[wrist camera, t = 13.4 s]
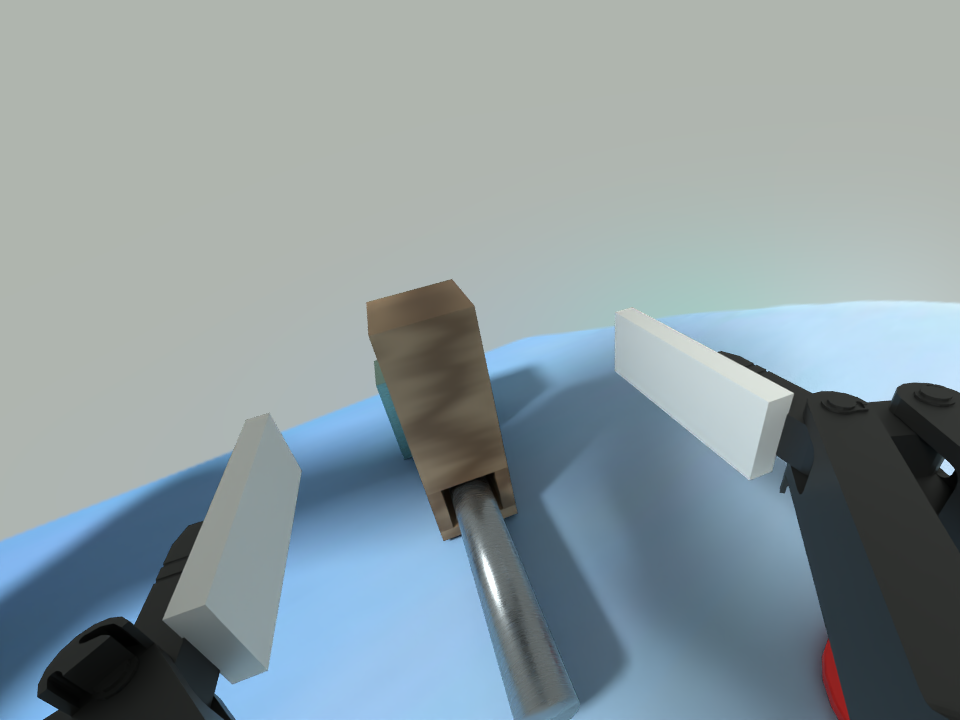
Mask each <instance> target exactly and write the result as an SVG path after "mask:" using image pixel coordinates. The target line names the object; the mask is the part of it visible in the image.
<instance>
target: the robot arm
mask: <svg viewBox="0 0 960 720" xmlns="http://www.w3.org/2000/svg"><path fill="white" fill-rule="evenodd" d="M615 372H617V373H618V374H619V375H620V376H621V377H623V378H624V379H625V380H626V381H628V382H629V383H630V384H631V385H633V386H634V387H635V388H636V389H637V390H639V391H640V392H641V393H642V394H644V395H645V396H646V397H647V398H649V399H650V400H651V401H652V402H653V403H655V404H656V405H657V406H658V407H660V408H661V409H662V410H663V411H664V412H666V413H667V414H668V415H669V416H671V417H672V418H673V419H674V420H676V421H677V422H678V423H679V424H680V425H682V426H683V427H684V428H685V429H687V430H688V431H689V432H690V433H692V434H693V435H694V436H695V437H696V438H698V439H699V440H700V441H701V442H703V443H704V444H705V445H706V446H708V447H709V448H710V449H711V450H712V451H714V452H715V453H716V454H717V455H719V456H720V457H721V458H722V459H724V460H725V461H726V462H727V463H728V464H730V465H731V466H732V467H733V468H735V469H736V470H737V471H738V472H740V473H741V474H742V475H743V476H744V477H746V478H747V479H748V480H749V481H750V480H752V479H755V478H757V477H760V476H762V475H765V474H767V473H770V472H772V469H773V466H774V462H775V459H776V455H777V456H778V457H780V458H781V459H783V460H784V461H785V462H787V467H786V470H785V473H784V476H783V480H782V483H781V486H780V493H785V491H786V488H787V486H789V488H790V492H791V496H792V500H793V504H794V507H795V511H796V515H797V519H798V523H799V527H800V530H801V534H802V538H803V542H804V546H805V550H806V554H807V557H808V561H809V565H810V569H811V573H812V577H813V580H814V584H815V588H816V592H817V596H818V600H819V603H820V607H821V611H822V615H823V619H824V623H825V626H826V630H827V634H828V638H829V642H830V646H831V649H832V653H833V657H834V661H835V665H836V669H837V672H838V676H839V680H840V684H841V688H842V692H843V695H844V699H845V703H846V707H847V711H848V715H849V718H850V720H960V393H959V392H957V391H955V390H952V389H949V388H946V387H944V386H941V385H936V384H935V385H934V384H930V383H907V384H902V385H901V386H899V387H897V389H896V391H895V394H894V396H893V398H892V400H891V401H879V402H865V401H863V400H862V399H860V398H858V397H855V396H852V395H849V394H846V393H840V392H834V391H821V392H817V393H811V392H809V391H807V390H805V389H803V388H801V387H799V386H797V385H795V384H793V383H791V382H789V381H787V380H785V379H783V378H781V377H779V376H777V375H775V374H773V373H772V372H770V371H768V372H767V371H766V369H764V368H762V367H760V366H758V365H754V363H752V362H750V361H748V360H746V359H744V358H742V357H740V356H737V355H734V354H730V353H726V352H723V351H720V352H716V351H714V350H712V349H710V348H708V347H706V346H704V345H702V344H701V343H699V342H697V341H695V340H693V339H691V338H689V337H687V336H686V335H684V334H682V333H680V332H678V331H676V330H674V329H672V328H670V327H669V326H667V325H665V324H663V323H661V322H659V321H657V320H655V319H654V318H652V317H650V316H648V315H646V314H644V313H642V312H640V311H639V310H636V309H635V308H633V307H631V308H628V309H625V310H621V311H618V312H615ZM944 459H946V460H947V461H948V462H949V463H950V464H951V465H952V466H953V467H954V469H955V471H954V472H953V474H952V475H951V476H949V475H948V474H946V473H945V472H944V471H943V470H942V469H941V468H940V466H941V464H942V462H943V461H944ZM301 472H302V471H301V469H300V467H299V465H298V463H297V462H296V460H295V458H294V456H293V454H292V453H291V451H290V449H289V447H288V445H287V443H286V442H285V440H284V438H283V436H282V434H281V433H280V431H279V429H278V427H277V425H276V424H275V422H274V420H273V418H272V416H271V415H270V413H268V414H264V415H261V416H257V417H254V418H251V419H247V420H246V421H245V423H244V426H243V428H242V431H241V433H240V435H239V438H238V440H237V443H236V445H235V447H234V450H233V452H232V454H231V457H230V459H229V462H228V464H227V466H226V469H225V471H224V474H223V476H222V478H221V481H220V483H219V486H218V488H217V490H216V493H215V495H214V498H213V500H212V502H211V505H210V507H209V510H208V512H207V514H206V517H205V519H204V521H201V522H198V523H195V524H192V525H189V526H188V527H187V528H186V529H185V530H184V531H183V533H182V534H181V535H180V536H179V537H178V539H177V540H176V541H175V542H174V543H173V545H172V546H171V549H170V551H169V553H168V555H167V557H166V559H165V561H164V563H163V565H164V567H162V568H161V570H160V572H159V574H158V576H157V578H156V583H155V584H153V587H152V589H151V591H150V593H149V595H148V597H147V599H146V601H145V603H144V606H143V608H142V610H141V612H140V614H139V616H138V618H137V620H136V622H135V625H133V624H132V623H131V622H130V621H128V620H127V619H125V618H123V617H114V618H108V619H106V620H104V621H101V622H99V623H97V624H94V625H93V626H91V627H90V628H88V629H87V630H85V631H84V632H82V633H81V634H79V635H78V636H76V637H75V638H74V639H73V640H72V641H71V642H70V643H69V644H68V645H66V646H65V647H64V648H63V649H62V650H61V651H60V652H59V653H58V654H57V656H56V657H55V658H54V659H53V661H52V662H51V663H50V664H49V666H48V667H47V668H46V670H45V672H44V674H43V676H42V678H41V680H40V682H39V684H38V692H37V697H38V698H40V699H42V700H43V701H45V702H47V703H48V704H50V705H52V706H54V707H55V708H57V709H59V710H58V711H56V712H54V713H53V714H51V715H50V716H48V717H47V718H45V719H43V720H235V718H234V717H233V715H232V714H231V713H230V711H229V710H228V708H227V707H226V706H225V704H224V703H223V702H222V700H221V699H220V698H219V697H218V696H217V695H215V694H214V692H215V689H216V685H217V681H218V677H219V673H221V674H222V675H223V676H224V677H225V678H226V679H227V680H228V681H229V682H230V683H231V684H235V683H237V682H240V681H242V680H245V679H247V678H250V677H252V676H255V675H258V674H260V673H263V672H265V671H268V666H269V660H270V654H271V648H272V643H273V637H274V631H275V625H276V619H277V613H278V607H279V601H280V596H281V590H282V584H283V578H284V572H285V566H286V560H287V554H288V549H289V543H290V537H291V531H292V525H293V519H294V513H295V507H296V502H297V496H298V490H299V484H300V478H301Z"/></svg>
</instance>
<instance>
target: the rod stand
mask: <svg viewBox="0 0 960 720" xmlns="http://www.w3.org/2000/svg"><path fill="white" fill-rule="evenodd" d="M374 366H375V378H376V386H377V389H378V392H379V394H380V397H381V400H382V402H383V405H384V407H385V410H386V413H387V415H388V418H389V421H390V423H391V426H392V428H393V431H394V434H395V436H396V439H397V441H398V444H399V447H400V449H401V452H402V455H403V457H404V460H405V459H408V458H411V457H413V456H412V453H411V451H410V448H409V445H408V442H407V440H406V437H405V434H404V431H403V429H402V426H401V423H400V421H399V418H398V415H397V412H396V410H395V407H394V404H393V401H392V399H391V396H390V393H389V390H388V388H387V385H386V382H385V380H384V377H383V374H382V371H381V369H380V366H379V363H378V360H376V361H374ZM449 492H450V495H451V499H452V502H453V506H454V509H455V513H456V517H457V520H458V524H459V527H460V531H461V534H462V538H463V541H464V545H465V548H466V552H467V556H468V559H469V563H470V566H471V570H472V573H473V577H474V580H475V584H476V587H477V591H478V595H479V598H480V602H481V605H482V609H483V612H484V616H485V619H486V623H487V626H488V630H489V633H490V637H491V641H492V644H493V648H494V651H495V655H496V658H497V662H498V665H499V669H500V672H501V676H502V680H503V683H504V687H505V690H506V694H507V697H508V701H509V704H510V708H511V711H512V715H513V718H514V720H570V719H571V718H572V717H573V716H574V715H575V714H576V713H577V711H578V709H579V707H580V702H579V700H578V697H577V695H576V693H575V690H574V688H573V685H572V683H571V680H570V678H569V676H568V673H567V671H566V668H565V666H564V664H563V661H562V659H561V656H560V654H559V651H558V649H557V647H556V644H555V642H554V639H553V637H552V635H551V632H550V630H549V627H548V625H547V622H546V620H545V618H544V615H543V613H542V610H541V608H540V606H539V603H538V601H537V598H536V596H535V593H534V591H533V589H532V586H531V584H530V581H529V579H528V577H527V574H526V572H525V569H524V567H523V565H522V562H521V560H520V557H519V555H518V552H517V550H516V548H515V545H514V543H513V540H512V538H511V536H510V533H509V531H508V528H507V526H506V523H505V521H504V519H503V516H502V514H501V511H500V509H499V507H498V504H497V502H496V499H495V497H494V494H493V492H492V490H491V487H490V485H489V482H488V480H487V478H486V475H484V476H481V477H478V478H475V479H473V480H470V481H467V482H464V483H461V484H459V485H456V486H453V487H450V488H449Z"/></svg>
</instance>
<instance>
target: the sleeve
mask: <svg viewBox="0 0 960 720" xmlns="http://www.w3.org/2000/svg"><path fill="white" fill-rule="evenodd" d="M367 319H368V335H369V338H370V341H371V344H372V346H373V349H374V352H375V355H376V358H377V360H378V363H379V366H380V369H381V371H382V374H383V377H384V380H385V382H386V385H387V388H388V390H389V393H390V396H391V399H392V401H393V404H394V407H395V410H396V412H397V415H398V418H399V421H400V423H401V426H402V429H403V431H404V434H405V437H406V440H407V442H408V445H409V448H410V451H411V453H412V456H413V459H414V462H415V464H416V467H417V470H418V472H419V475H420V478H421V481H422V483H423V486H424V489H425V492H426V494H427V497H428V500H429V503H430V505H431V508H432V511H433V513H434V516H435V519H436V522H437V524H438V527H439V530H440V533H441V535H442V538H443V541H445V540H448V539H451V538H453V537H456V536H459V535H461V531H460V527H459V524H458V520H457V517H456V513H455V509H454V506H453V502H452V499H451V495H450V492H449V488H450V487H453V486H456V485H459V484H461V483H464V482H467V481H470V480H473V479H475V478H478V477H481V476H484V475H486V478H487V480H488V482H489V485H490V487H491V490H492V492H493V494H494V497H495V499H496V502H497V504H498V507H499V509H500V511H501V514H502V516H503V519H504V518H506V517H509V516H512V515H514V514H517V508H516V504H515V499H514V494H513V489H512V484H511V480H510V475H509V470H508V465H507V460H506V456H505V451H504V446H503V441H502V436H501V431H500V427H499V422H498V417H497V412H496V407H495V403H494V398H493V393H492V388H491V383H490V379H489V374H488V369H487V364H486V359H485V355H484V350H483V345H482V341H481V336H480V331H479V326H478V321H477V316H476V312H475V307H474V305H473V304H472V302H471V301H470V300H469V299H468V298H467V297H466V295H465V294H464V293H463V292H462V291H461V289H460V288H459V287H458V286H457V285H456V283H455V282H454V281H453V280H452V279H451V280H447V281H443V282H440V283H436V284H432V285H429V286H425V287H421V288H417V289H414V290H410V291H406V292H403V293H399V294H396V295H392V296H388V297H384V298H381V299H377V300H373V301H369V302H367Z"/></svg>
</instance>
